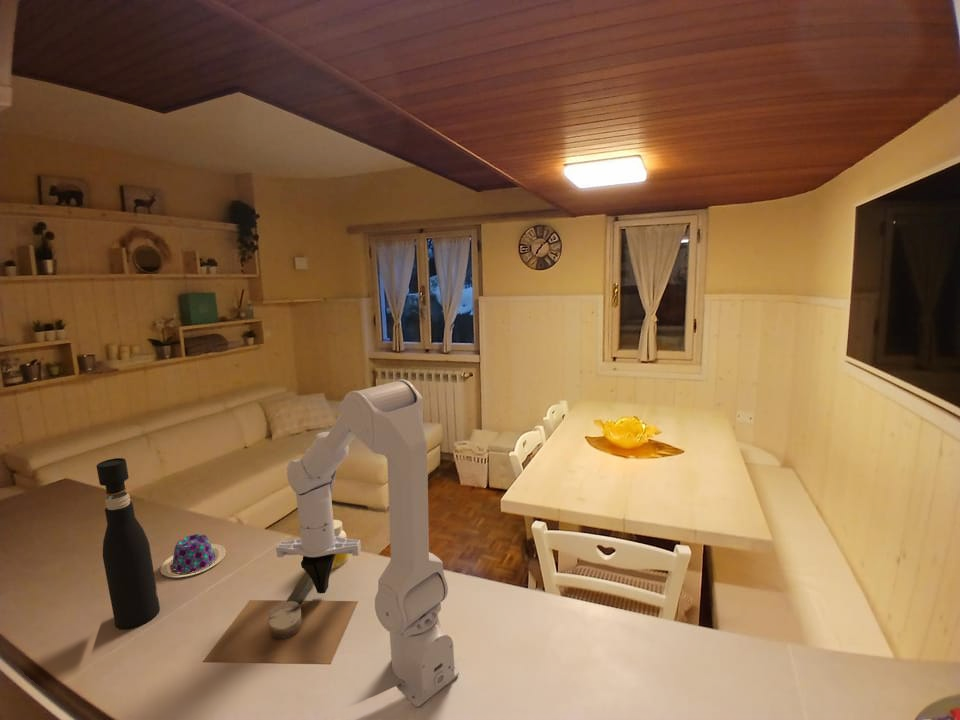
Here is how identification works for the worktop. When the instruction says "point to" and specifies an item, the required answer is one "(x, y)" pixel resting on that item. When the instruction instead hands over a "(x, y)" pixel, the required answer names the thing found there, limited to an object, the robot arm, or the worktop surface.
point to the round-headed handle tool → (289, 611)
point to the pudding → (192, 555)
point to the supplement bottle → (339, 558)
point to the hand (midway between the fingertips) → (323, 589)
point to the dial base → (307, 646)
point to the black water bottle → (126, 553)
